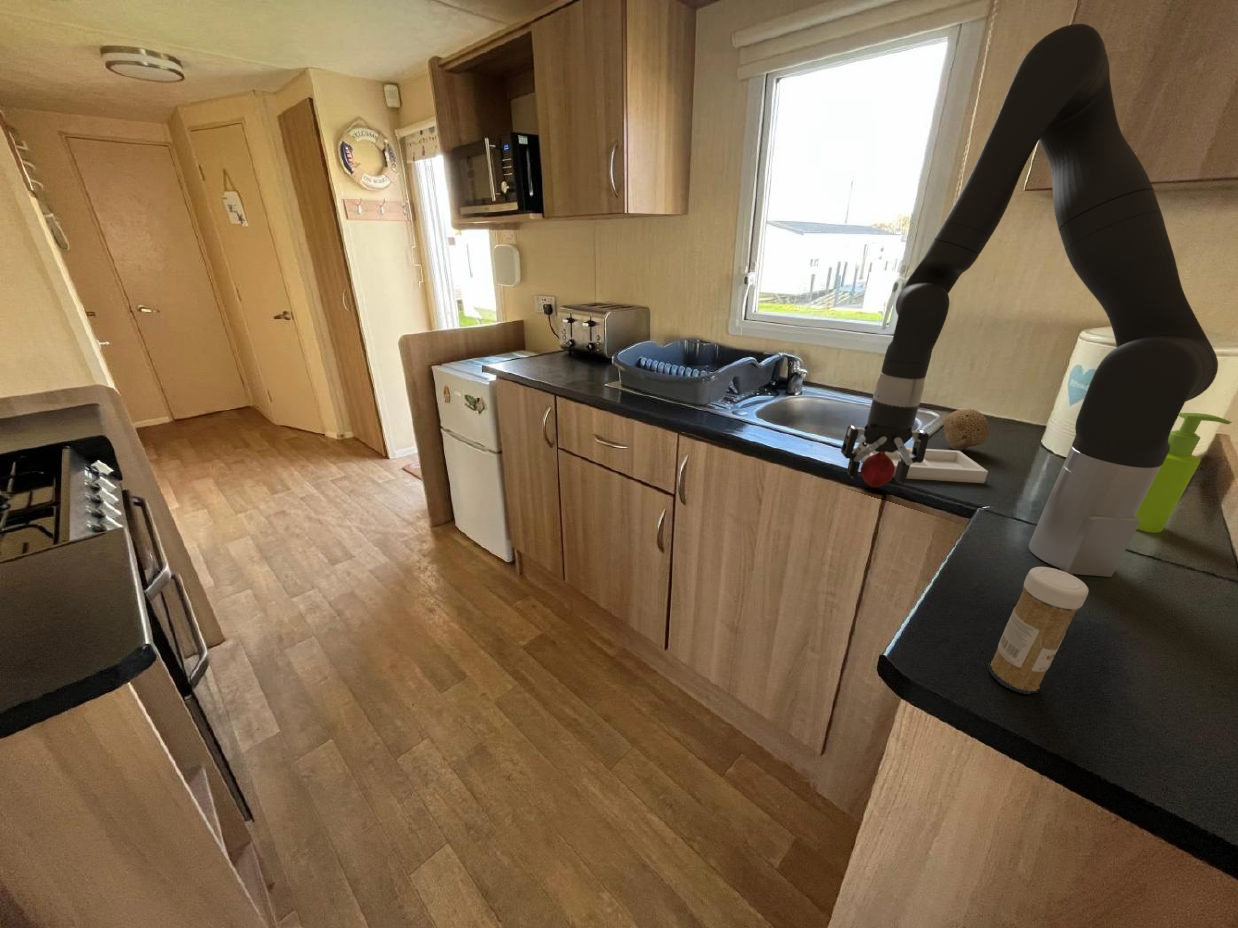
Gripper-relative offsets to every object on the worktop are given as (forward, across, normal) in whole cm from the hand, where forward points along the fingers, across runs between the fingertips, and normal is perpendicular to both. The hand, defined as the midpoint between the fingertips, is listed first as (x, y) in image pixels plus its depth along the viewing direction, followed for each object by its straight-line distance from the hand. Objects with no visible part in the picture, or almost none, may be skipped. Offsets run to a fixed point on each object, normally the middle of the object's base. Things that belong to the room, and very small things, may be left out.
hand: (875, 479), depth 95 cm
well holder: (+2, +13, +11) cm, 17 cm away
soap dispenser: (+2, +42, -8) cm, 43 cm away
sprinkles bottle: (+2, -2, -47) cm, 47 cm away
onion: (+2, 0, 0) cm, 2 cm away
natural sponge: (+2, +28, +24) cm, 37 cm away
